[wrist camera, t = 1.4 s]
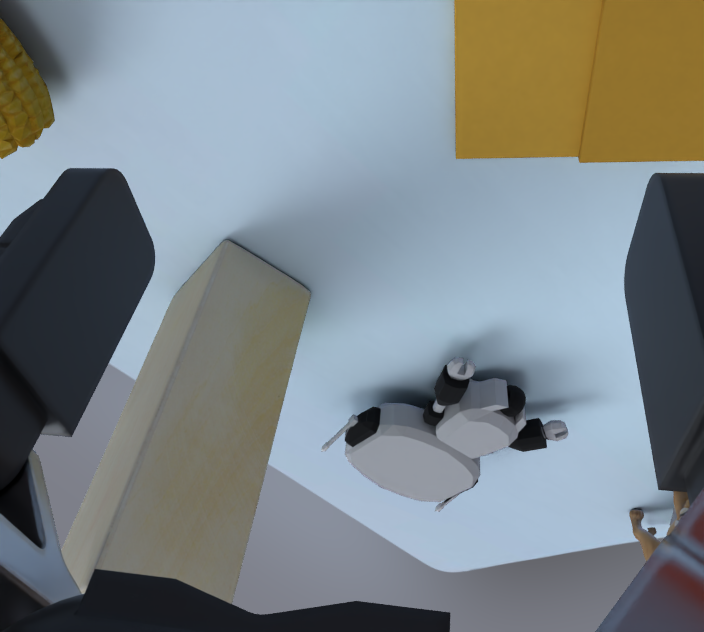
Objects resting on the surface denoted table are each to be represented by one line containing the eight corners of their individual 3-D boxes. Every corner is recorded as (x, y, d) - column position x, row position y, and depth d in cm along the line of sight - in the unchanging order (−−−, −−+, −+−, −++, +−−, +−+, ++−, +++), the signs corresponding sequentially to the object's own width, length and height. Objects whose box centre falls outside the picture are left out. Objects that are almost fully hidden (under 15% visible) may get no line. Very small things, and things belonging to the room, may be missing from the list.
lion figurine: (663, 436, 48) (686, 555, 42) (741, 441, 47) (775, 564, 41) (621, 522, 59) (635, 627, 53) (684, 528, 58) (705, 635, 52)
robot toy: (457, 319, 43) (322, 412, 52) (458, 371, 40) (314, 461, 49) (575, 401, 48) (433, 473, 57) (584, 454, 45) (432, 522, 54)
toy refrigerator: (260, 348, 47) (164, 661, 34) (171, 297, 45) (26, 617, 31) (323, 296, 42) (239, 642, 28) (226, 235, 39) (81, 587, 26)
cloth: (454, -127, 24) (452, -118, 23) (820, -165, 22) (831, -155, 21) (456, 152, 33) (455, 165, 32) (716, 147, 30) (721, 160, 30)
